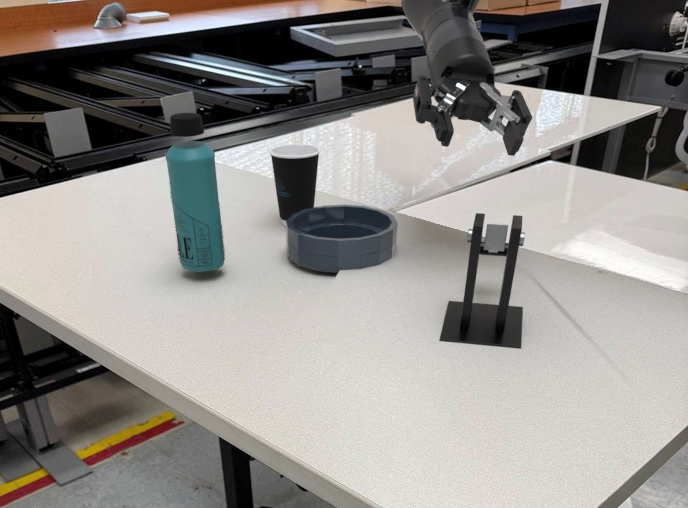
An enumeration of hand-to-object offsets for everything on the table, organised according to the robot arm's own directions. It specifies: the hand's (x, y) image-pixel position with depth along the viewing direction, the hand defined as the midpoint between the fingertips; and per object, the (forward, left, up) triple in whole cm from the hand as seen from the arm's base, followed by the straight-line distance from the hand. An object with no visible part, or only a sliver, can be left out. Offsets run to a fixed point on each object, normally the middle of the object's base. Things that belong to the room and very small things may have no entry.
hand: (482, 144), depth 85 cm
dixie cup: (+20, -29, -17) cm, 39 cm away
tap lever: (0, +10, -9) cm, 14 cm away
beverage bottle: (+35, -9, -17) cm, 40 cm away
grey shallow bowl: (+15, -13, -17) cm, 26 cm away
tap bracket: (+2, +14, -17) cm, 22 cm away
